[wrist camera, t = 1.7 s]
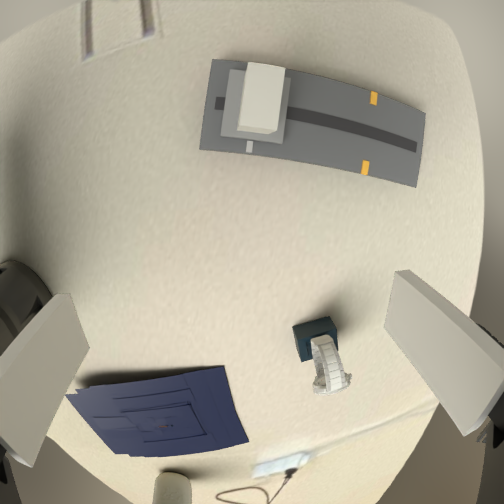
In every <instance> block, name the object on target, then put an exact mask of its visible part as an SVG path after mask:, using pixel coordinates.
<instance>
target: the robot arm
mask: <svg viewBox="0 0 504 504" xmlns="http://www.w3.org/2000/svg"><path fill="white" fill-rule="evenodd" d="M384 329H385V330H386V331H387V332H388V334H389V335H390V336H391V337H392V339H393V340H394V341H395V343H396V344H397V345H398V346H399V348H400V349H401V350H402V352H403V353H404V354H405V355H406V357H407V358H408V359H409V361H410V362H411V363H412V365H413V366H414V367H415V369H416V370H417V371H418V373H419V374H420V375H421V377H422V378H423V379H424V381H425V382H426V383H427V385H428V386H429V387H430V389H431V390H432V392H433V393H434V394H435V396H436V397H437V399H438V400H439V401H440V403H441V404H442V406H443V407H444V408H445V410H446V411H447V413H448V414H449V415H450V417H451V418H452V420H453V421H454V423H455V424H456V426H457V427H458V429H459V430H460V432H461V433H462V435H463V436H466V435H468V434H469V433H471V432H472V431H474V430H476V429H477V428H479V427H480V425H481V424H482V423H483V421H484V420H485V419H486V417H487V416H489V417H490V418H491V421H490V422H489V423H488V425H487V426H486V427H485V429H484V430H483V431H482V432H481V433H480V435H479V436H478V437H477V441H476V442H479V441H480V440H481V439H482V438H483V436H484V435H485V434H486V433H487V436H486V437H485V439H484V440H483V441H482V442H483V443H486V448H485V457H484V465H483V472H482V478H481V484H480V489H479V494H478V498H477V503H476V504H504V345H503V344H502V343H500V342H498V340H497V339H496V338H495V337H494V336H491V334H490V332H488V331H487V330H486V329H485V328H484V327H482V326H481V325H479V324H477V323H475V322H473V321H472V320H471V319H470V318H469V317H468V316H466V315H465V314H464V313H463V312H462V311H460V310H459V309H458V308H457V307H456V306H454V305H453V304H452V303H451V302H450V301H448V300H447V299H446V298H445V297H443V296H442V295H441V294H440V293H438V292H437V291H436V290H435V289H433V288H432V287H431V286H430V285H428V284H427V283H426V282H425V281H423V280H422V279H421V278H419V277H418V276H417V275H415V274H414V273H413V272H411V271H410V270H403V271H395V273H394V279H393V285H392V290H391V295H390V301H389V305H388V310H387V315H386V319H385V324H384ZM89 349H90V347H89V344H88V342H87V339H86V337H85V334H84V332H83V329H82V326H81V324H80V321H79V318H78V315H77V313H76V310H75V307H74V304H73V301H72V298H71V294H70V293H69V294H56V295H55V296H54V297H53V298H52V297H51V294H50V293H49V291H48V289H47V287H46V286H45V284H44V283H43V282H42V280H41V279H40V278H39V277H38V276H37V275H36V274H35V273H34V272H33V271H32V270H31V269H30V268H29V267H27V266H26V265H24V264H22V263H20V262H17V261H6V262H4V263H2V264H1V265H0V504H22V503H21V500H20V497H19V494H18V491H17V488H16V485H15V481H14V477H13V474H12V470H11V466H10V463H9V460H8V458H7V457H6V456H5V453H6V451H7V452H8V453H10V455H11V456H12V457H14V458H15V459H16V460H17V461H19V462H20V463H23V464H25V465H27V466H29V467H31V468H32V467H33V465H34V462H35V460H36V457H37V455H38V452H39V450H40V447H41V445H42V443H43V440H44V438H45V436H46V434H47V431H48V429H49V427H50V425H51V422H52V420H53V418H54V416H55V414H56V412H57V410H58V408H59V405H60V403H61V401H62V399H63V397H64V395H65V393H66V391H67V389H68V387H69V385H70V384H71V382H72V380H73V378H74V376H75V374H76V372H77V370H78V368H79V367H80V365H81V363H82V361H83V359H84V358H85V356H86V354H87V352H88V350H89Z"/></svg>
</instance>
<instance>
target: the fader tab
mask: <svg viewBox="0 0 504 504" xmlns="http://www.w3.org/2000/svg"><path fill="white" fill-rule="evenodd" d="M284 75H285V67H280V66H274V65H268V64H262V63H255V62H248V65H247V69H246V71H242V70H233V69H230V73H229V79H228V85H227V92H226V99H225V106H224V113H223V120H222V128H221V135H220V136H221V137H230V138H239V139H248V140H255V141H263V142H270V143H277V144H282V142H283V135H284V128H285V120H286V113H287V105H288V97H289V90H290V82H291V78H288V77H284Z"/></svg>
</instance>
